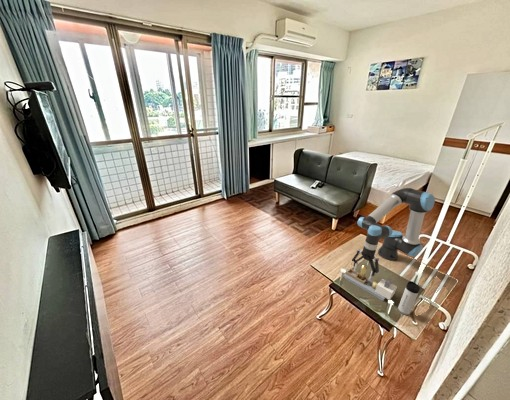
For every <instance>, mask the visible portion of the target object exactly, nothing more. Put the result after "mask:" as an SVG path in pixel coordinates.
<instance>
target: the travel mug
mask: <svg viewBox="0 0 510 400" xmlns="http://www.w3.org/2000/svg"><path fill="white" fill-rule="evenodd" d="M420 290H421V287H420V286H419V285H418V284H417V283H415V282H414V281H412V280H410V281H407V283H406V286H405V288H404V290H403V293H402V296H401V299H400V302H399V304H398V307H397V310H398V312H400V313H401V314H402V315H404V316H410V314H411V312H412V309H413V307H414V305H415V302H416V300H417V297H418V295H419V292H420Z"/></svg>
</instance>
